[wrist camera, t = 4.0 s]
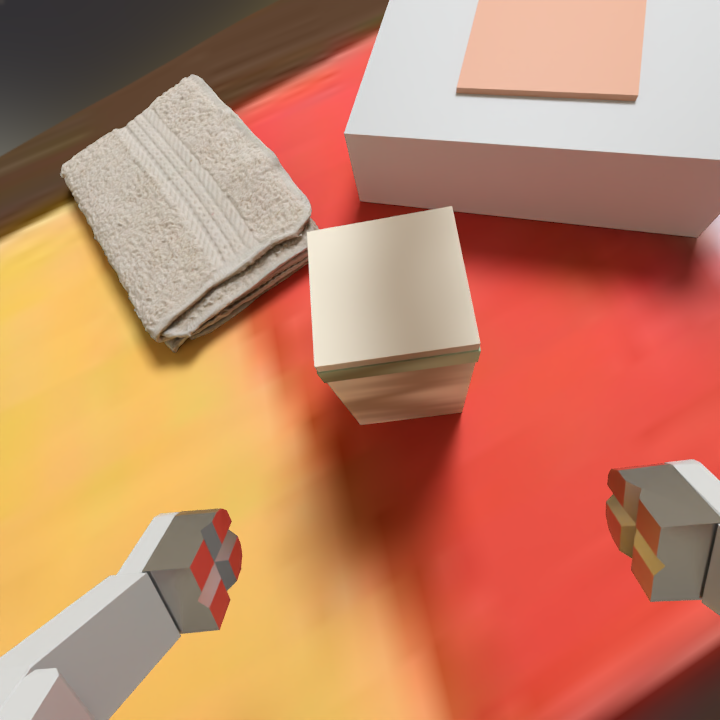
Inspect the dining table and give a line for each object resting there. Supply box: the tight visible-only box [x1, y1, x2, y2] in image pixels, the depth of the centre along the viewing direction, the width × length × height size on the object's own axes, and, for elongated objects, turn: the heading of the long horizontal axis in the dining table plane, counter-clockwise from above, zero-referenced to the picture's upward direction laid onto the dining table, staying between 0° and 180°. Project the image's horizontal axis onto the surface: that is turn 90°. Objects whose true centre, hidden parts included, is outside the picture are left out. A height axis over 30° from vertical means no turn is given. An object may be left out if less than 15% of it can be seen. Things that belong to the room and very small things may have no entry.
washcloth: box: [60, 74, 319, 353], centre depth 27 cm, size 12×18×3 cm, turn 37°
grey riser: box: [344, 0, 720, 238], centre depth 24 cm, size 18×14×5 cm
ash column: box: [307, 206, 481, 425], centre depth 18 cm, size 5×5×9 cm
